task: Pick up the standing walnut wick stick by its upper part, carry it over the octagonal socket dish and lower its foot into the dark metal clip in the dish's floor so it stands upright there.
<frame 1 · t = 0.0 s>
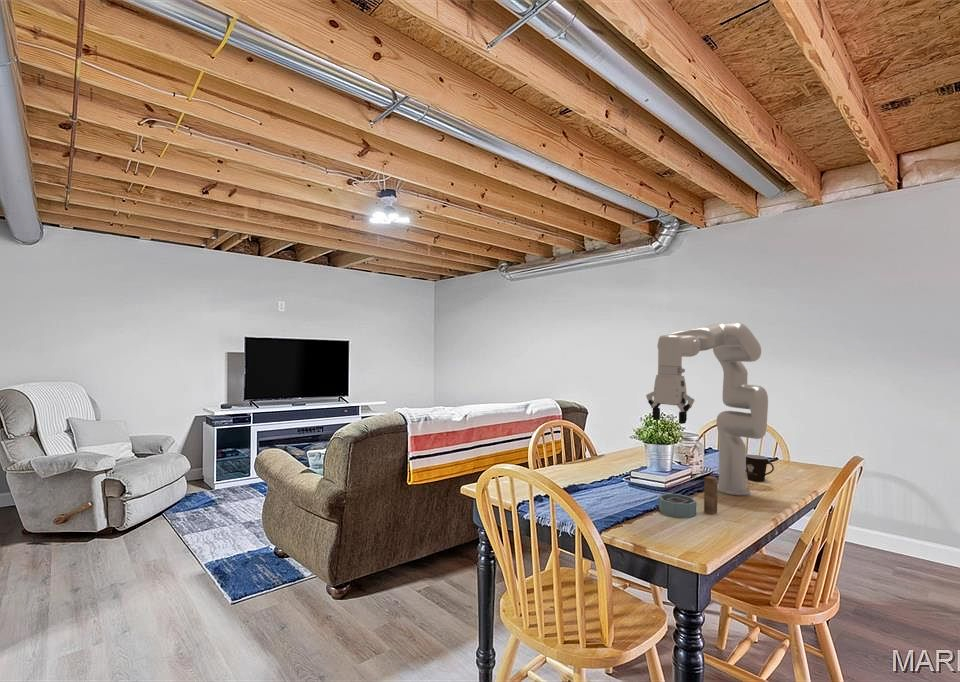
hand: (669, 421, 166), 31 cm above the table, fingers open, 9 cm apart
wick: (710, 512, 167), on the table
coffee mug: (757, 481, 209), on the table
octagonal socket dish: (677, 511, 167), on the table
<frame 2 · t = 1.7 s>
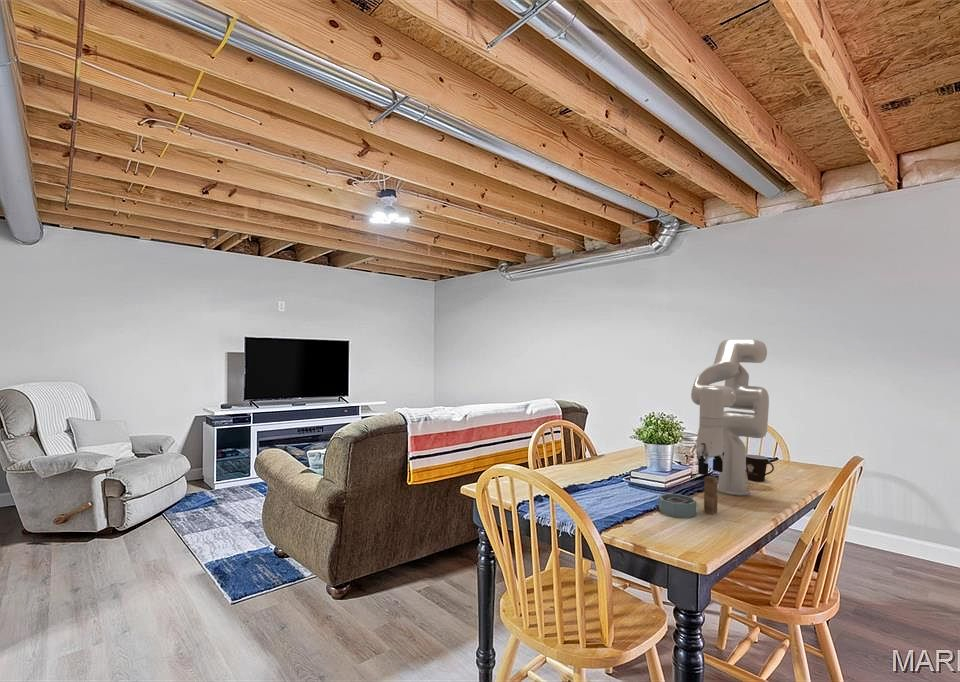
hand: (710, 472, 167), 14 cm above the table, fingers open, 9 cm apart
nothing on the table moved.
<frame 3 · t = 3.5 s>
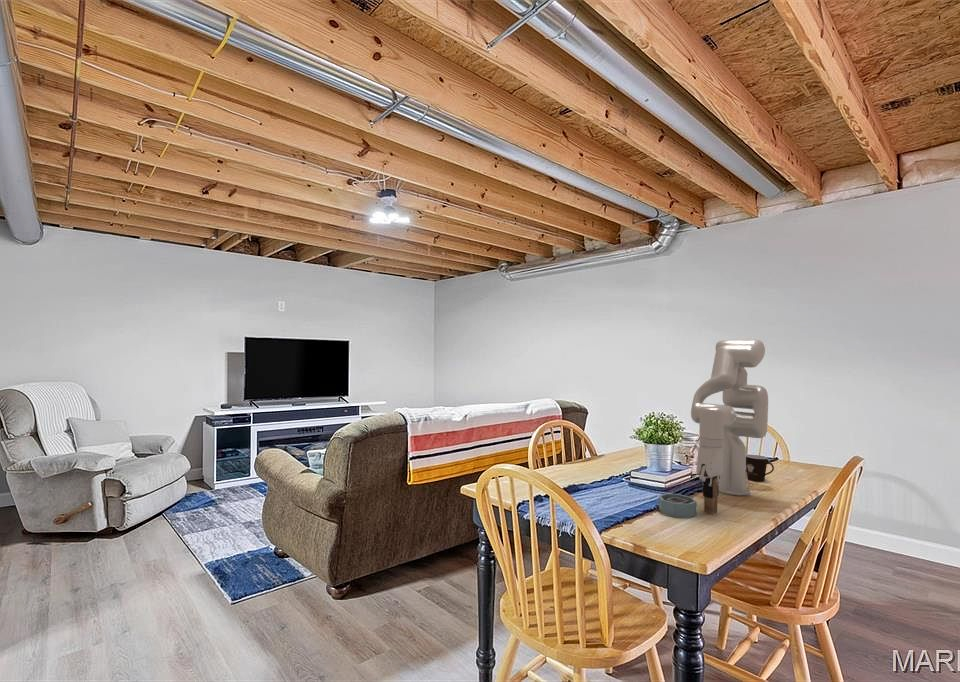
hand: (710, 495, 167), 6 cm above the table, fingers closed on wick, 3 cm apart
wick: (710, 512, 167), on the table, touching gripper
everything else where it was.
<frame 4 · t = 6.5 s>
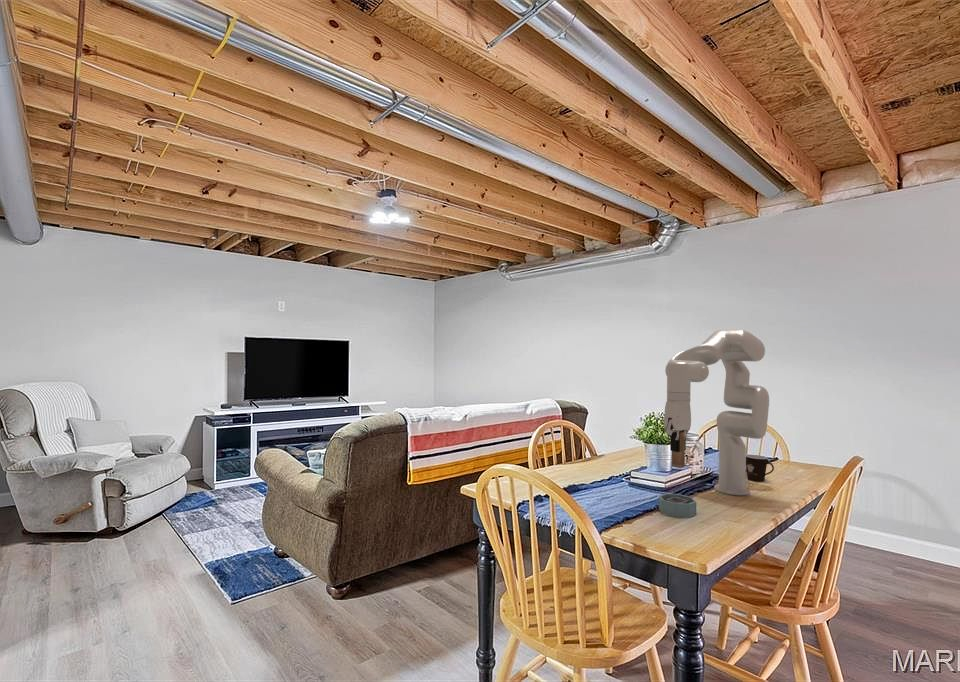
hand: (677, 450, 167), 21 cm above the table, fingers closed on wick, 3 cm apart
wick: (678, 466, 167), point 16 cm above the table, touching gripper
everything else where it was.
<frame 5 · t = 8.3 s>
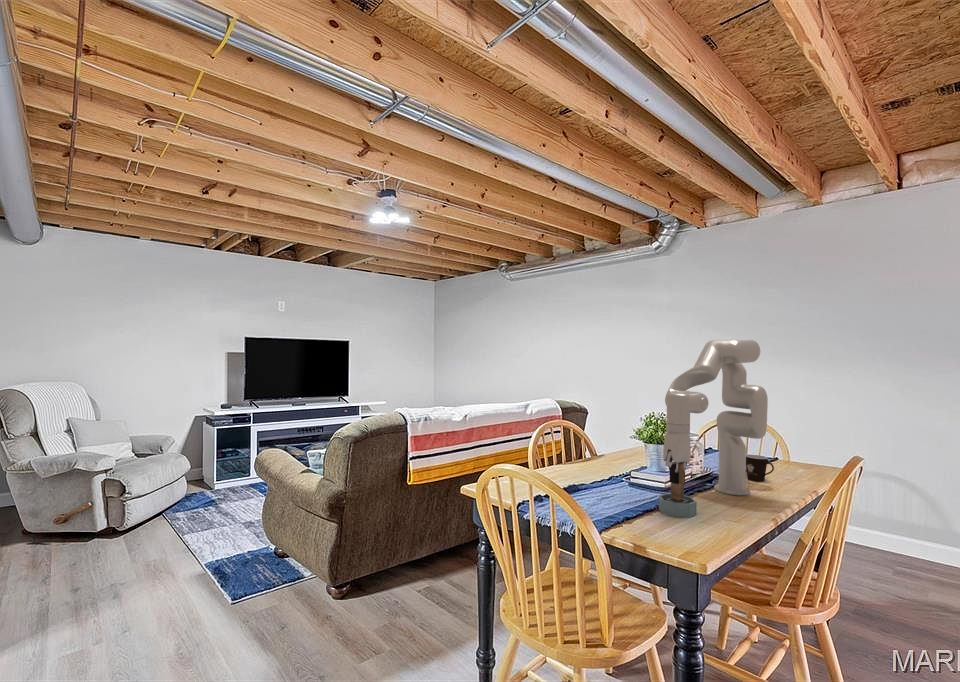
hand: (677, 481, 167), 10 cm above the table, fingers closed on wick, 3 cm apart
wick: (677, 498, 167), point 5 cm above the table, touching gripper
everything else where it was.
when the fingers open (7 cm above the table, at t = 9.8 s): wick drops 1 cm, resting on octagonal socket dish.
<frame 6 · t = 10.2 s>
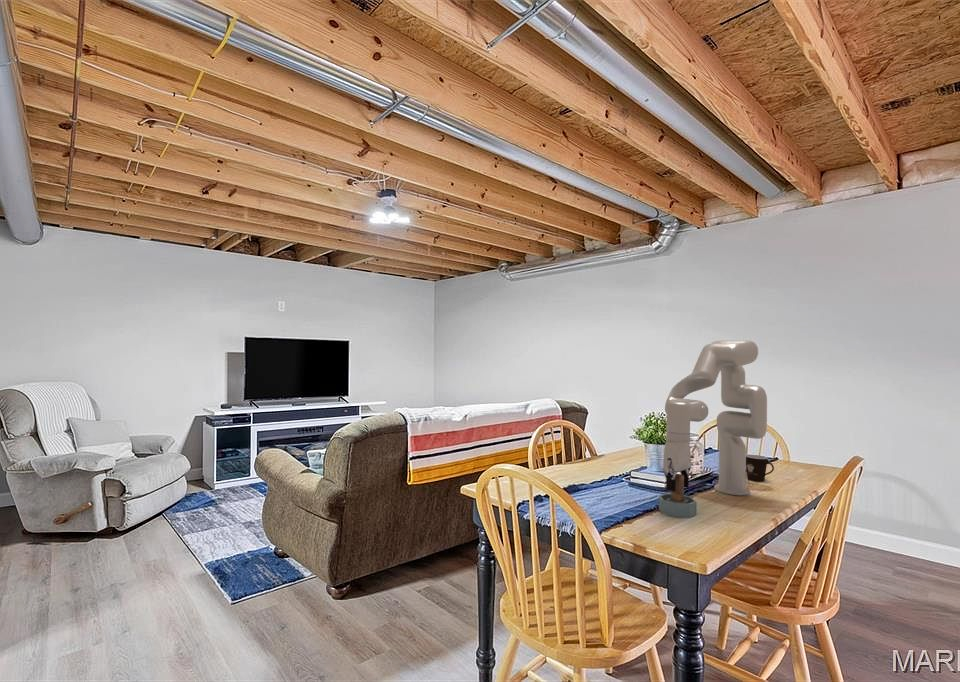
hand: (677, 488, 167), 8 cm above the table, fingers open, 7 cm apart
wick: (677, 510, 167), point 1 cm above the table, touching octagonal socket dish
everything else where it was.
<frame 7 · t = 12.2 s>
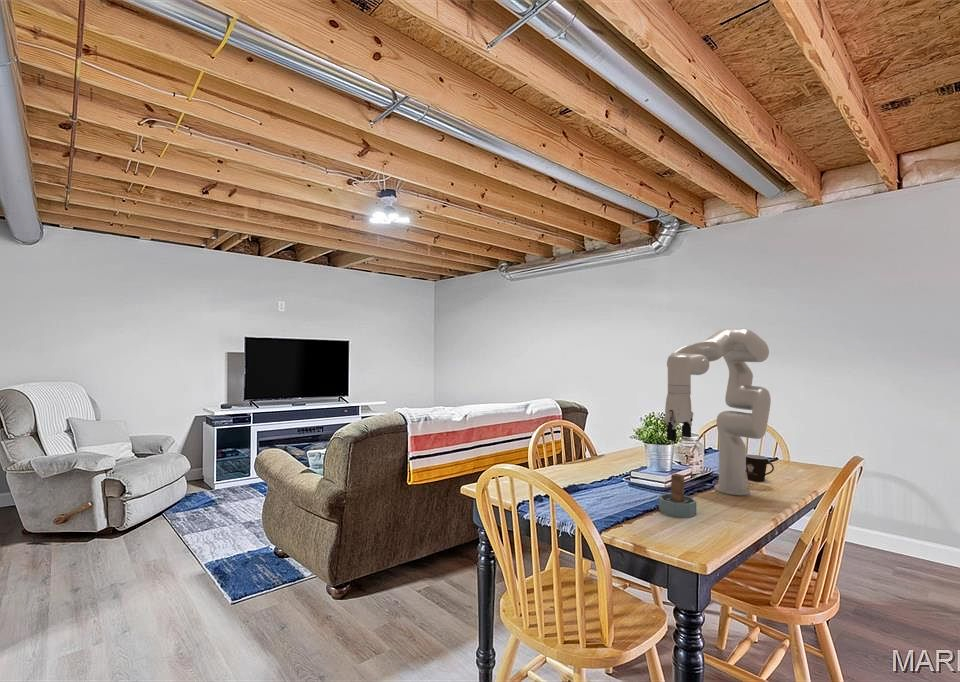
hand: (679, 438, 171), 25 cm above the table, fingers open, 9 cm apart
nothing on the table moved.
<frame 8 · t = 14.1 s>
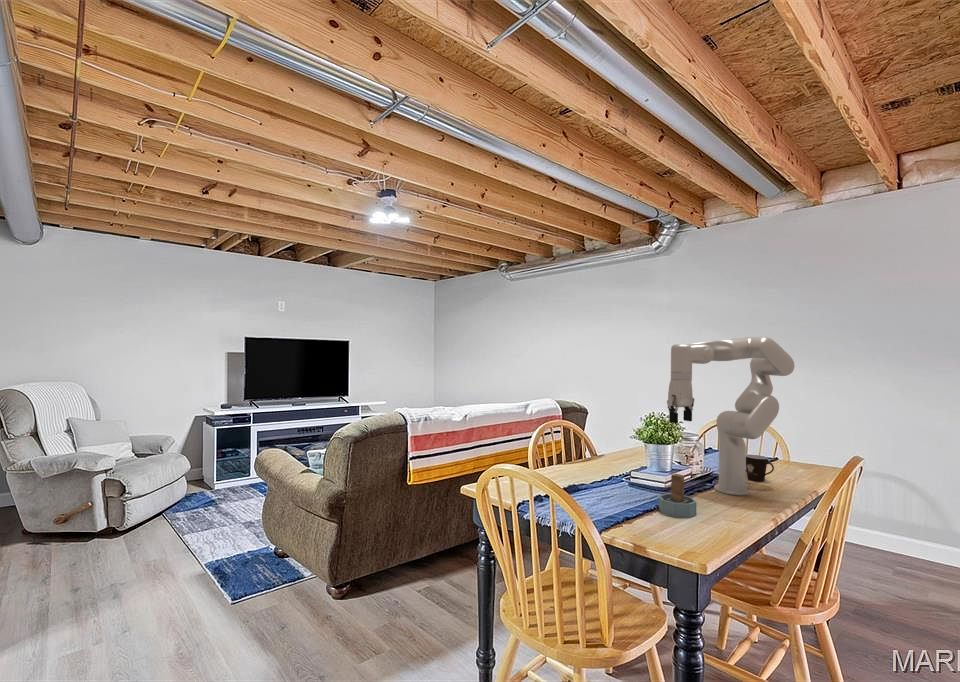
hand: (680, 421, 185), 28 cm above the table, fingers open, 9 cm apart
nothing on the table moved.
at the end: wick 0.1 cm off-centre on the octagonal socket dish, point 0.6 cm above the octagonal socket dish's base; wick tilted 0°; the gripper is holding nothing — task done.
